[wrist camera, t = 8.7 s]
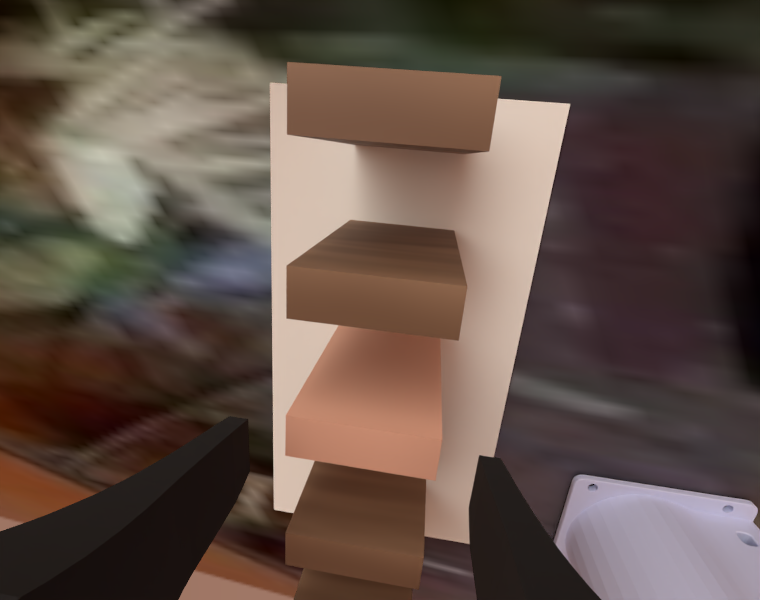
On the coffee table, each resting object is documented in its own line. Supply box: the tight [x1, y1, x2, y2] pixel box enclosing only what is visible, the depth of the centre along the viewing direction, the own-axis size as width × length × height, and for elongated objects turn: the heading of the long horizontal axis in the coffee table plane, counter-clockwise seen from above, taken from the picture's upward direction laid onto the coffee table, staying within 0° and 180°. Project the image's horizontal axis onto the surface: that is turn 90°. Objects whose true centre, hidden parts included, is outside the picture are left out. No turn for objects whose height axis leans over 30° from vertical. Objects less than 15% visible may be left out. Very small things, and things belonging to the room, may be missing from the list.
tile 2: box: [286, 461, 426, 590], centre depth 19 cm, size 2×5×9 cm, turn 85°
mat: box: [270, 83, 570, 544], centre depth 22 cm, size 13×25×1 cm, turn 175°
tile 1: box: [294, 568, 412, 600], centre depth 21 cm, size 2×5×9 cm, turn 85°
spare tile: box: [285, 325, 442, 481], centre depth 17 cm, size 2×5×9 cm, turn 85°
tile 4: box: [286, 220, 467, 341], centre depth 16 cm, size 2×5×9 cm, turn 86°
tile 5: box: [287, 62, 501, 154], centre depth 14 cm, size 2×5×9 cm, turn 85°
